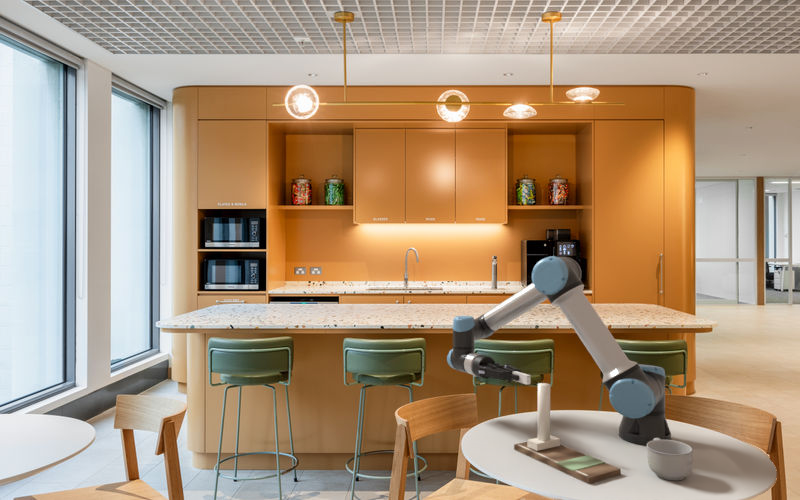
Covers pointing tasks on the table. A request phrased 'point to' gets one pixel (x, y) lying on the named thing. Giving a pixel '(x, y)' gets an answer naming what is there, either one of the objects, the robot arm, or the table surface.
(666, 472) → the teacup
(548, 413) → the tuning slider
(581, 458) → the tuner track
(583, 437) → the table surface
